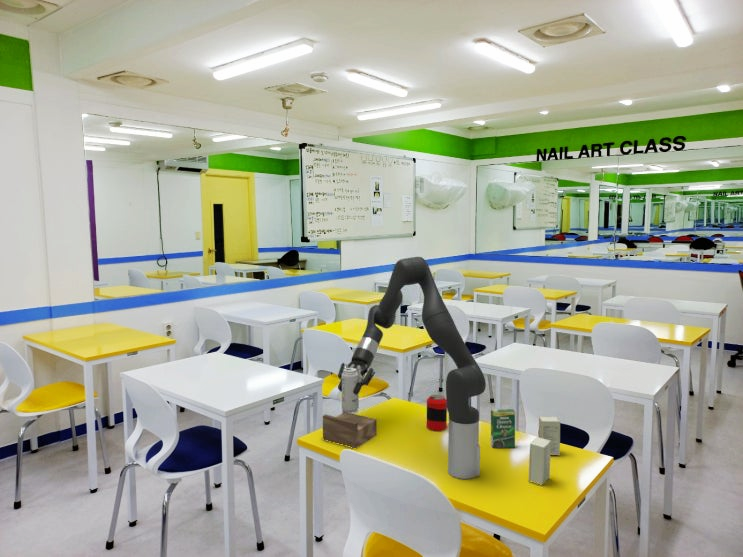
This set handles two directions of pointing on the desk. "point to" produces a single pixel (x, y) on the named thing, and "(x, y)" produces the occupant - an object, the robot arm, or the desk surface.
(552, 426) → the skincare box
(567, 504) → the desk surface
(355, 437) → the walnut shelf block
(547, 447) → the skincare box
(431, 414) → the soda can
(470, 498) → the desk surface
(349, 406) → the energy drink can
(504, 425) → the coffee box
